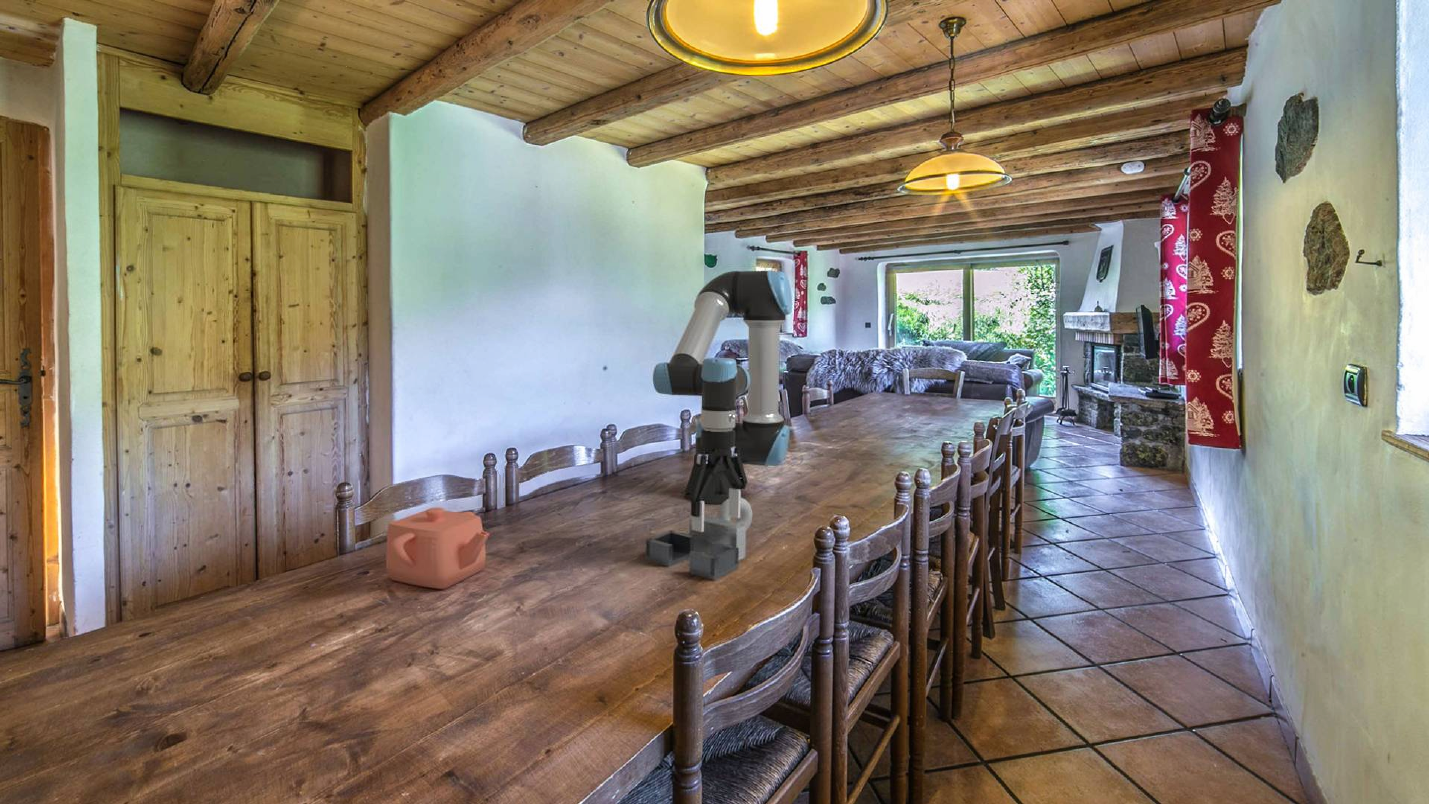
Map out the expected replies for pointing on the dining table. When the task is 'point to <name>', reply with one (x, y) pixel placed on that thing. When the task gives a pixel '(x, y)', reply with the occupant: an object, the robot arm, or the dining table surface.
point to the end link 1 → (669, 548)
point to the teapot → (435, 548)
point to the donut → (744, 512)
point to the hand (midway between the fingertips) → (716, 523)
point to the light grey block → (719, 535)
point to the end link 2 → (715, 561)
